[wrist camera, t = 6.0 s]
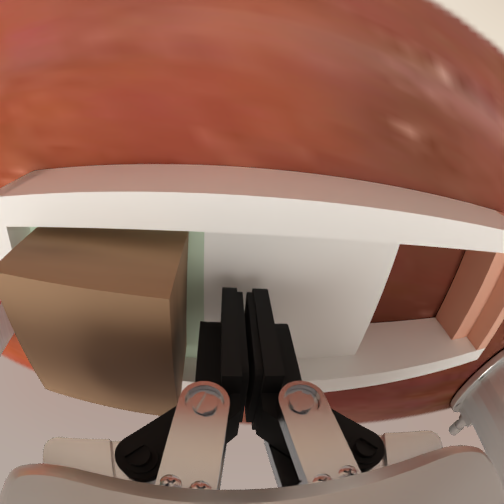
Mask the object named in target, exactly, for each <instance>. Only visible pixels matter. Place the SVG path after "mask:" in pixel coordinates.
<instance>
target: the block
mask: <svg viewBox="0 0 504 504" xmlns="http://www.w3.org/2000/svg"><path fill="white" fill-rule="evenodd" d="M188 237H189V231H169V230H142V229H111V228H71V227H37V228H36V229H34V230H33V231H32V232H31V233H30V234H29V235H28V236H26V237H25V238H24V239H23V240H22V241H21V242H20V243H19V244H17V245H16V246H15V247H14V248H13V249H12V250H11V251H10V252H9V253H8V254H7V255H6V256H5V257H4V258H3V259H1V260H0V300H1V302H2V305H3V307H4V310H5V312H6V315H7V317H8V319H9V321H10V324H11V326H12V328H13V330H14V332H15V335H16V337H17V339H18V341H19V343H20V345H21V347H22V349H23V351H24V352H25V354H26V356H27V358H28V360H29V362H30V364H31V365H32V367H33V369H34V371H35V372H36V374H37V376H38V377H39V379H40V381H41V382H42V384H43V385H44V387H45V388H46V389H47V390H50V391H53V392H56V393H59V394H63V395H66V396H70V397H73V398H77V399H80V400H84V401H88V402H92V403H96V404H100V405H104V406H108V407H113V408H118V409H123V410H128V411H134V412H139V413H145V414H153V415H159V416H161V415H163V414H164V413H166V412H167V411H169V410H170V409H172V408H173V407H175V406H176V405H177V403H178V400H179V397H180V394H181V390H182V381H183V372H184V363H185V355H186V347H187V332H186V310H187V261H188Z"/></svg>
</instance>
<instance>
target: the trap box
mask: <svg viewBox="0 0 504 504" xmlns="http://www.w3.org/2000/svg"><path fill="white" fill-rule="evenodd" d="M37 227H71V228H111V229H142V230H169V231H189V237H188V261H187V310H186V332H187V347H186V355H185V363H184V372H183V381H182V390H183V389H184V388H185V387H187V386H188V385H190V384H192V383H194V382H195V375H196V362H197V350H198V339H199V328H200V321H205V322H221V303H222V287H231V288H237V292H243V303H244V311H245V302H246V294H247V292H252V289H253V288H258V289H268V293H269V298H270V303H271V308H272V313H273V318H274V323H275V324H288V326H289V330H290V334H291V338H292V342H293V346H294V350H295V354H296V358H297V362H298V366H299V370H300V374H301V379H302V381H307V382H310V383H312V384H315V385H316V386H317V387H319V388H320V389H321V390H322V392H331V391H340V390H347V389H355V388H361V387H368V386H374V385H379V384H385V383H390V382H395V381H400V380H405V379H409V378H413V377H418V376H422V375H426V374H430V373H434V372H437V371H441V370H445V369H448V368H452V367H455V366H458V365H462V364H465V363H468V362H471V361H474V360H477V359H478V358H479V356H480V355H481V353H482V352H483V351H484V349H485V348H486V346H487V345H488V343H489V342H490V340H491V339H492V337H493V336H494V334H495V332H496V331H497V329H498V328H499V326H500V324H501V323H502V321H503V319H504V213H502V212H499V211H496V210H492V209H489V208H485V207H482V206H478V205H475V204H471V203H467V202H463V201H459V200H455V199H451V198H447V197H443V196H439V195H434V194H430V193H425V192H421V191H416V190H411V189H406V188H401V187H396V186H391V185H385V184H380V183H374V182H368V181H362V180H356V179H349V178H342V177H335V176H328V175H320V174H312V173H304V172H295V171H285V170H274V169H263V168H250V167H235V166H217V165H190V164H122V165H96V166H79V167H66V168H54V169H44V170H35V171H32V172H30V173H28V174H26V175H24V176H22V177H20V178H19V179H17V180H15V181H13V182H11V183H9V184H7V185H5V186H4V187H2V188H0V260H1V259H3V258H4V257H5V256H6V255H7V254H8V253H9V252H10V251H11V250H12V249H13V248H14V247H15V246H16V245H17V244H19V243H20V242H21V241H22V240H23V239H24V238H25V237H26V236H28V235H29V234H30V233H31V232H32V231H33V230H34V229H36V228H37ZM400 244H407V245H420V246H432V247H443V248H455V249H466V251H465V254H464V256H463V259H462V261H461V264H460V266H459V269H458V271H457V273H456V276H455V278H454V280H453V282H452V284H451V287H450V289H449V291H448V293H447V295H446V297H445V299H444V301H443V303H442V305H441V307H440V309H439V311H438V313H437V315H436V317H434V318H425V319H415V320H405V321H394V322H381V323H370V321H371V319H372V317H373V314H374V312H375V310H376V307H377V305H378V302H379V300H380V297H381V295H382V292H383V290H384V287H385V284H386V282H387V279H388V277H389V274H390V271H391V268H392V265H393V263H394V260H395V257H396V254H397V251H398V248H399V245H400ZM182 390H181V392H182Z"/></svg>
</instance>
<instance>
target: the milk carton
mask: <svg viewBox="0 0 504 504" xmlns="http://www.w3.org/2000/svg"><path fill="white" fill-rule="evenodd" d="M14 333H15V332H14V330H13V328H12V326H11V324H10V321H9V319H8V317H7V315H6V312H5V310H4V307H3V305H2V302H1V300H0V356H1V354H2V352H3V350H4V349H5V347H6V345H7V344H8V342H9V341H10V339H11V337H12V336H13V334H14Z"/></svg>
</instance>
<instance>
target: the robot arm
mask: <svg viewBox="0 0 504 504" xmlns="http://www.w3.org/2000/svg"><path fill="white" fill-rule="evenodd" d="M244 407H245V414H246V422H252V429H253V430H256V434H257V435H258V436H260V437H261V438H262V439H264V442H265V443H264V444H265V447H266V451H267V454H268V457H269V460H270V464H271V467H272V470H273V473H274V476H275V480H276V483H277V486H278V488H268V489H250V490H220V486H221V478H222V472H223V465H224V459H225V452H226V446H227V443H228V442H229V441H230V440H232V439H233V438H234V437H235V436H236V435H237V433H238V427H239V422H242V419H243V413H244ZM451 408H452V410H453V411H454V412H460V413H461V414H460V416H459V420H457V421H456V422H455V423H454V424H452V425H451V426H450V428H449V432H450V434H451V435H456V434H457V433H459V432H460V431H461V430H462V429H463V428H464V426H467V427H469V426H471V425H473V426H474V428H475V430H476V432H477V435H478V437H479V439H480V441H481V443H482V445H483V447H484V449H485V452H486V453H485V452H483V451H482V450H481V449H479V448H476V447H472V446H463V445H458V446H449V447H444V448H443V447H442V442H441V440H440V437H439V436H438V435H437V434H436V433H434V432H432V431H415V432H399V433H384V434H383V435H377V434H376V433H374V432H372V431H370V430H369V429H367V428H365V427H363V426H361V425H359V424H357V423H356V422H354V421H352V420H350V419H348V418H347V417H345V416H343V415H341V414H340V413H338V412H336V411H334V410H333V409H331V408H330V405H329V403H328V401H327V399H326V397H325V395H324V393H323V392H322V390H321V389H320V388H319V387H317V386H316V385H315V384H312V383H310V382H307V381H302V379H301V374H300V370H299V366H298V362H297V358H296V354H295V350H294V346H293V342H292V338H291V334H290V330H289V326H288V324H275V323H274V318H273V313H272V308H271V303H270V298H269V293H268V289H258V288H253V289H252V292H247V294H246V302H245V311H244V303H243V292H237V288H231V287H222V303H221V322H205V321H200V328H199V339H198V350H197V362H196V375H195V382H194V383H192V384H190V385H188V386H187V387H185V388H184V389H183V390H182V392H181V394H180V397H179V400H178V403H177V405H176V406H175V407H173V408H172V409H170V410H169V411H167V412H166V413H164V414H163V415H161V416H160V417H159V418H157V419H155V420H154V421H152V422H150V423H149V424H147V425H146V426H144V427H142V428H141V429H139V430H138V431H136V432H134V433H133V434H131V435H129V436H128V437H126V438H124V439H123V440H122V441H111V440H110V439H80V438H64V437H56V438H52V439H50V440H48V441H47V443H46V444H45V445H44V449H43V464H28V465H22V466H19V467H17V468H15V469H14V470H13V471H11V472H10V474H9V475H8V477H7V479H6V481H5V483H4V485H3V488H2V491H1V494H0V504H504V350H502V351H501V352H500V353H498V354H497V355H496V356H494V357H493V358H492V359H491V360H489V361H488V362H487V363H486V364H485V365H484V366H483V367H481V368H480V369H479V370H478V371H477V372H476V373H475V374H474V375H473V376H472V377H471V378H470V379H469V380H468V381H467V382H466V383H465V384H464V385H463V386H462V387H461V389H460V390H459V391H458V392H457V393H456V395H455V396H454V398H453V399H452V402H451ZM486 454H487V455H486Z"/></svg>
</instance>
